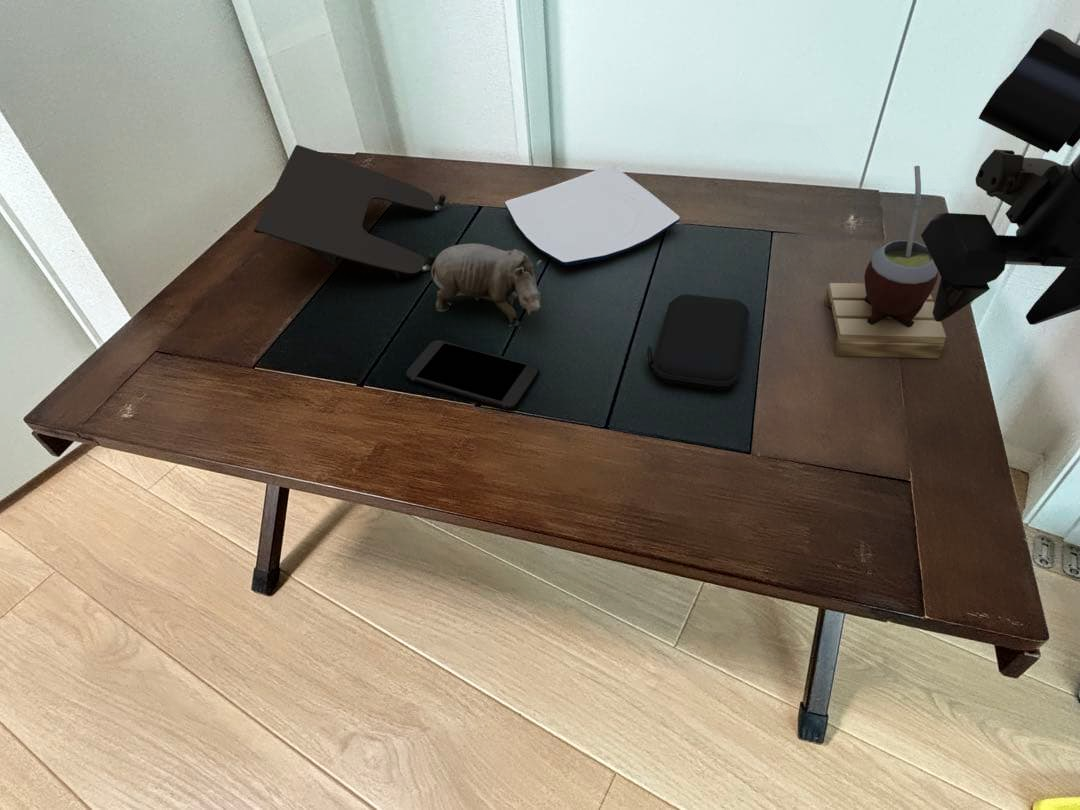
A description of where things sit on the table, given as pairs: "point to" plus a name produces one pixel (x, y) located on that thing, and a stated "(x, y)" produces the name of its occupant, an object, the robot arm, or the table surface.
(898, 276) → the mate gourd
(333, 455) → the table surface
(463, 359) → the smartphone
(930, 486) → the table surface
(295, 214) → the laptop tray
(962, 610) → the table surface
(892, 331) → the rack
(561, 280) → the table surface
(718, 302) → the carrying case
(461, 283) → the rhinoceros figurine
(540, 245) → the plate
